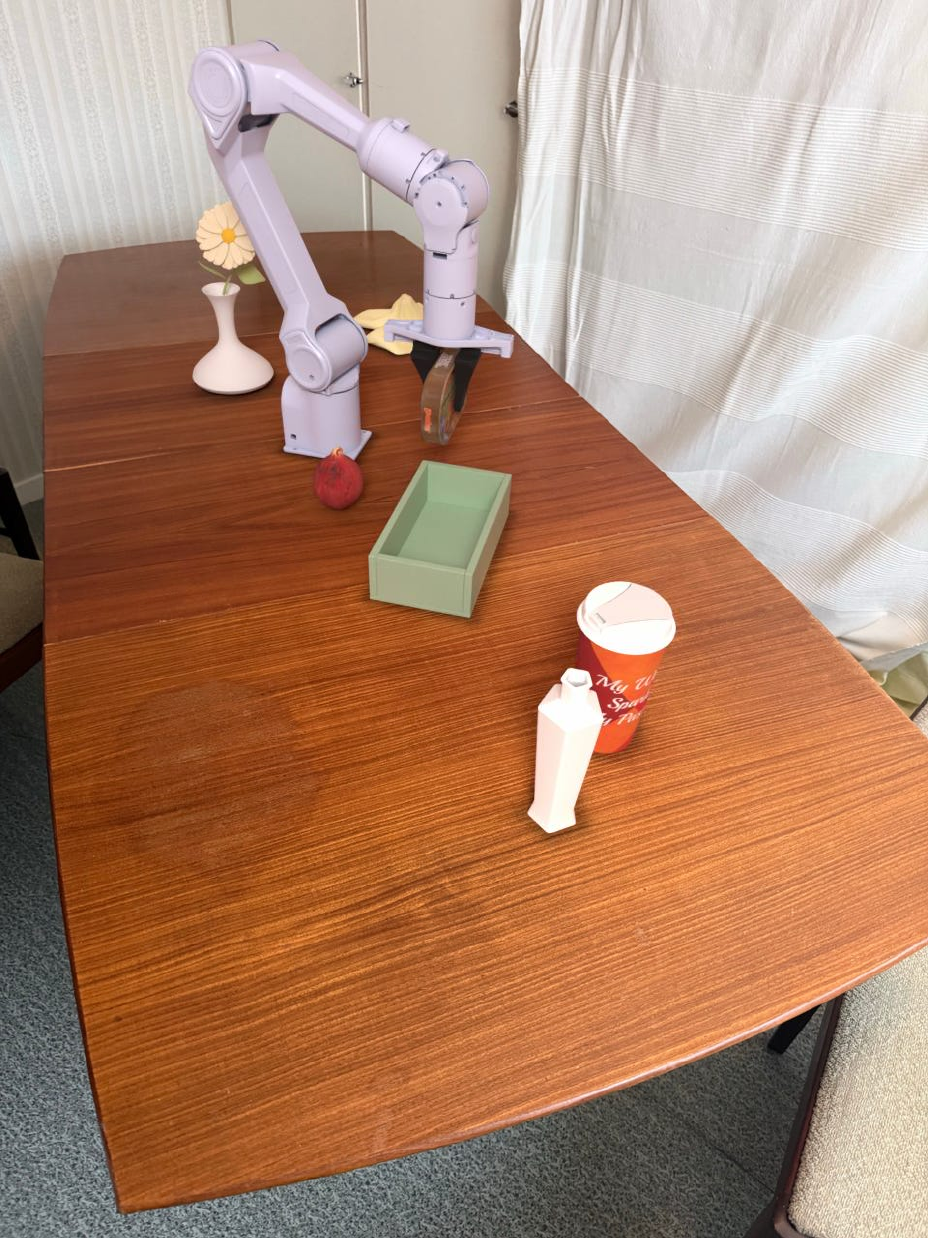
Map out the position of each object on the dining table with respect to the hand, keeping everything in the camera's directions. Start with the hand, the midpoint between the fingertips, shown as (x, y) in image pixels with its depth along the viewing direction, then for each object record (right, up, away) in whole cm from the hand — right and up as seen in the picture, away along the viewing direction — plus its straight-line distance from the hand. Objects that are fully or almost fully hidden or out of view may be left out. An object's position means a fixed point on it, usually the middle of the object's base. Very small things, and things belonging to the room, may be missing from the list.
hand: (446, 406), depth 98 cm
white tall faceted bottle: (+9, -41, -32) cm, 53 cm away
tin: (-1, -2, +2) cm, 3 cm away
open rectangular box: (0, -18, -6) cm, 19 cm away
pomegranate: (-13, -12, 0) cm, 18 cm away
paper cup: (+14, -35, -25) cm, 45 cm away
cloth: (-7, +23, +41) cm, 48 cm away
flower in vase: (-31, +9, +23) cm, 39 cm away
